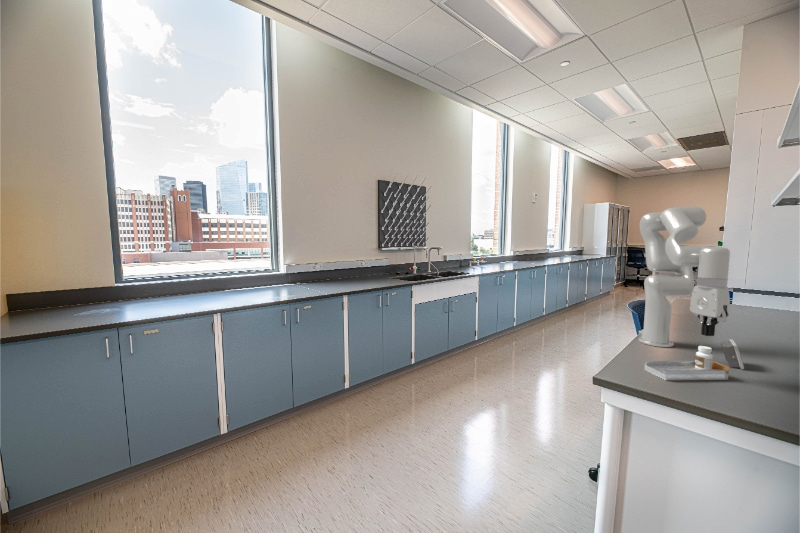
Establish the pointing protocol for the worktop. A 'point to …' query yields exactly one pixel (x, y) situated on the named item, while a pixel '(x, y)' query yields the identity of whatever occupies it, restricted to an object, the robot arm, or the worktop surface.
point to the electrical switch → (732, 354)
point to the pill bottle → (704, 358)
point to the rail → (686, 370)
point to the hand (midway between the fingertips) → (707, 335)
